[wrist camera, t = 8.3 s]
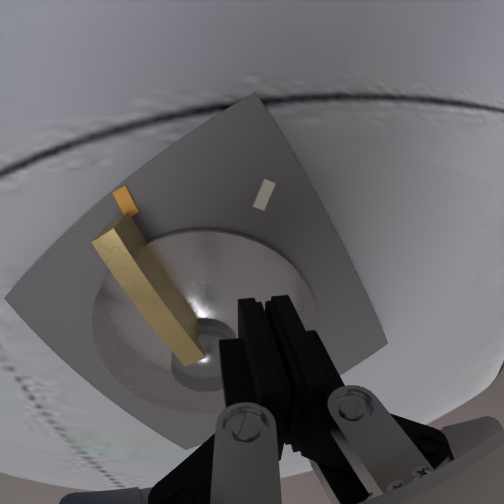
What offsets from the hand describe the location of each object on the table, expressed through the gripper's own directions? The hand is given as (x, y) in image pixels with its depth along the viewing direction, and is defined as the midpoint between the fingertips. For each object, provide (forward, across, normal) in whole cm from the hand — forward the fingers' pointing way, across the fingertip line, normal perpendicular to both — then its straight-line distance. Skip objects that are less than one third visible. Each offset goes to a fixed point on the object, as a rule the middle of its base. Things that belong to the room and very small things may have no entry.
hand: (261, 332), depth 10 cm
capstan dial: (+11, +3, +8) cm, 14 cm away
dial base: (+13, +2, +9) cm, 16 cm away
